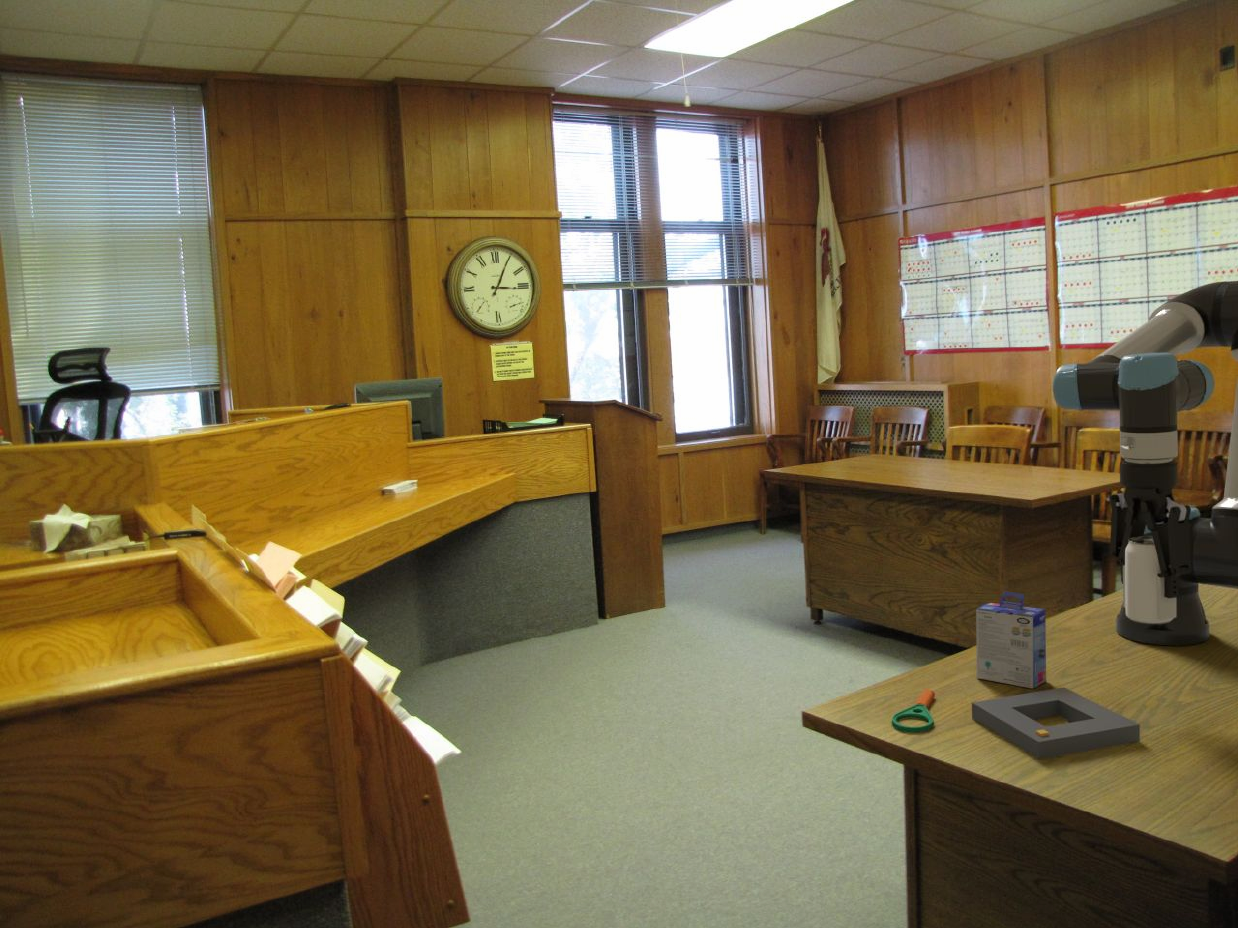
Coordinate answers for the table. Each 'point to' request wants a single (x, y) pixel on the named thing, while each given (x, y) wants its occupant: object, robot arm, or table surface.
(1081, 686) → the table surface
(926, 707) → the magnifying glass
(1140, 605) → the can
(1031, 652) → the ink cartridge box
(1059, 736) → the socket block
